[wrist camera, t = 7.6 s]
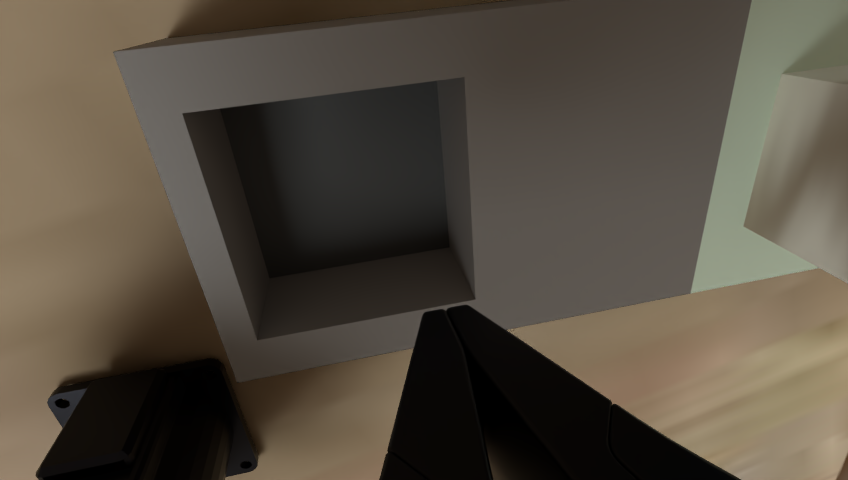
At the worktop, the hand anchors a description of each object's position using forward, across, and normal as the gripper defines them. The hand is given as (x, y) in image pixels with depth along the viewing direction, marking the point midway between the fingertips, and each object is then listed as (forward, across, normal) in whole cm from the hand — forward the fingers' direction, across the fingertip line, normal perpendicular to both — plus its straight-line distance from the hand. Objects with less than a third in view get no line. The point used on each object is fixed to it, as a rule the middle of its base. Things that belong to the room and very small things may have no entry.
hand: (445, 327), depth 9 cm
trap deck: (+10, -11, 0) cm, 15 cm away
